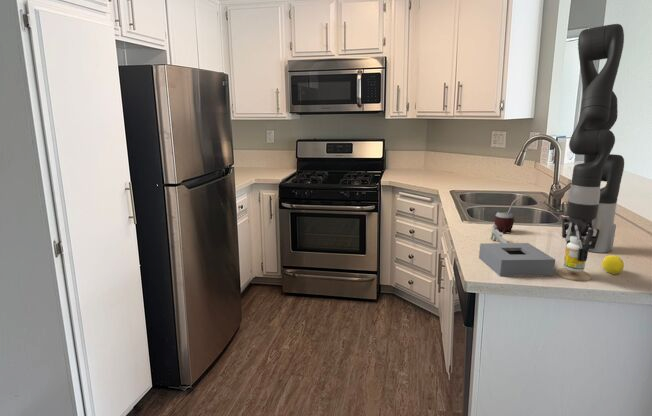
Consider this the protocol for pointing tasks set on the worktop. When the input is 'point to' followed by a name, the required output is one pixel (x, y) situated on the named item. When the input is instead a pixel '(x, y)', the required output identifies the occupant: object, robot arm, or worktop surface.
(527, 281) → the worktop surface
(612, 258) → the lemon
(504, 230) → the mate gourd
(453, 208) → the worktop surface
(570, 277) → the cork coaster
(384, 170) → the worktop surface
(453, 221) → the worktop surface
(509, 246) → the box
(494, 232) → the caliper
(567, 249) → the supplement bottle
